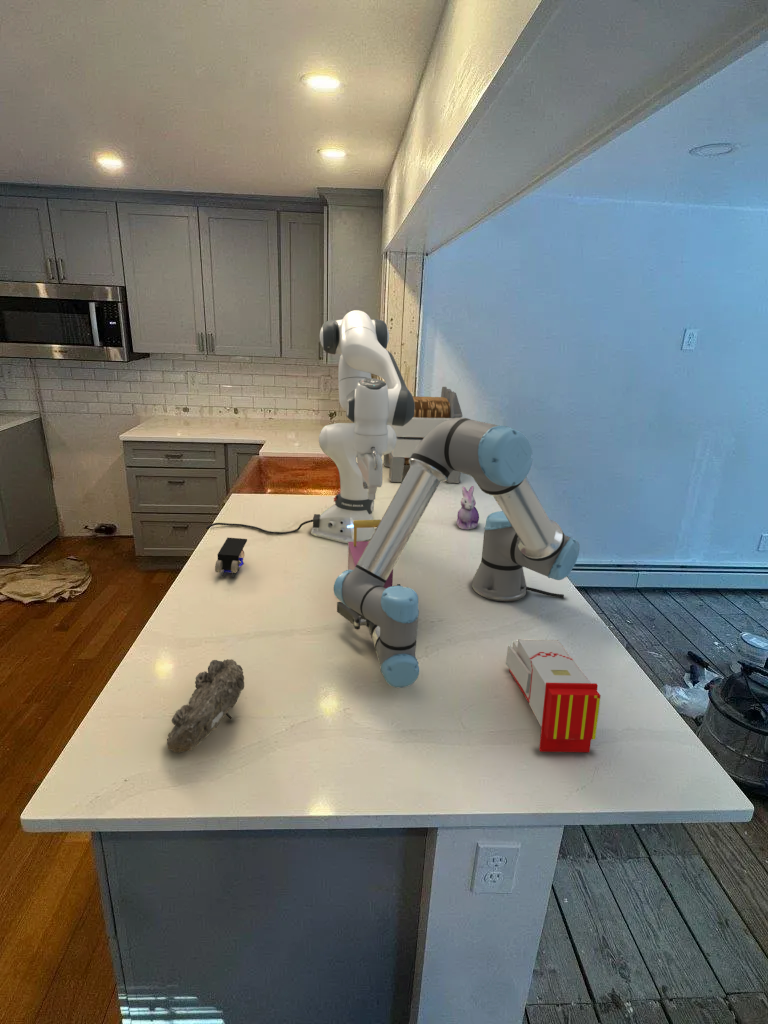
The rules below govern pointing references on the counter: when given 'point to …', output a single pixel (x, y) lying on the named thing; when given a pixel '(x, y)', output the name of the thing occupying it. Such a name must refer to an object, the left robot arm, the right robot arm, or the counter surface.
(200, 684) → the fossil
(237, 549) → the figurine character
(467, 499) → the figurine
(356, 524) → the lid
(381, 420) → the left robot arm
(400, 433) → the transformer
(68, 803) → the counter surface
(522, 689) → the toy
